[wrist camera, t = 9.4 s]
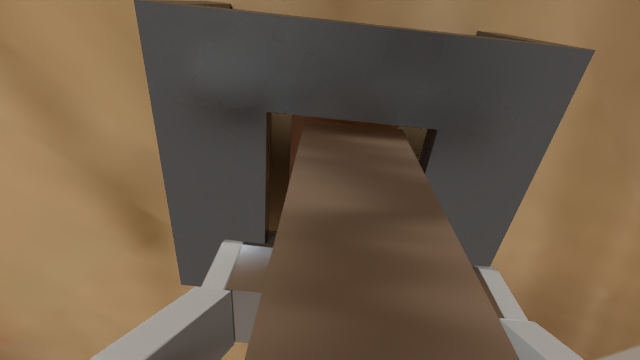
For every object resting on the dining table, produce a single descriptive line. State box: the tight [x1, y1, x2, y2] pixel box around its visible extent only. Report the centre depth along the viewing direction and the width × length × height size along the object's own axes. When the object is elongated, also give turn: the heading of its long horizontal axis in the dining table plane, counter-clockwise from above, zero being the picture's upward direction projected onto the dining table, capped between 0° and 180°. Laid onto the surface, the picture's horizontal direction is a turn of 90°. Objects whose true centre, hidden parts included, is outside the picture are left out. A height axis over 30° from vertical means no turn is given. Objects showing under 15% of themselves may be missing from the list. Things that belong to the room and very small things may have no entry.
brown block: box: [245, 120, 520, 360], centre depth 9 cm, size 4×4×12 cm
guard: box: [134, 0, 595, 286], centre depth 15 cm, size 14×12×6 cm
